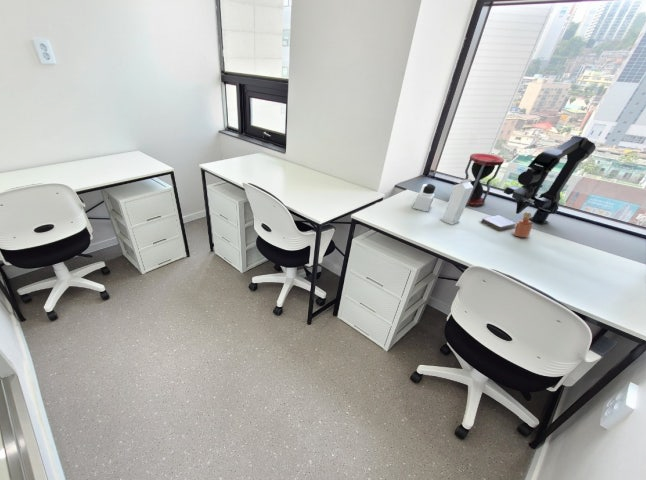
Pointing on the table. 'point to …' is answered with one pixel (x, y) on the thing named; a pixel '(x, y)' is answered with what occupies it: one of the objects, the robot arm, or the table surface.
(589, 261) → the table surface
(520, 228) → the bottle
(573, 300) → the table surface
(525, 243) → the table surface
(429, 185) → the container
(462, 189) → the milk
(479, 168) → the hourglass
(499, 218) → the riser
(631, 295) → the table surface
